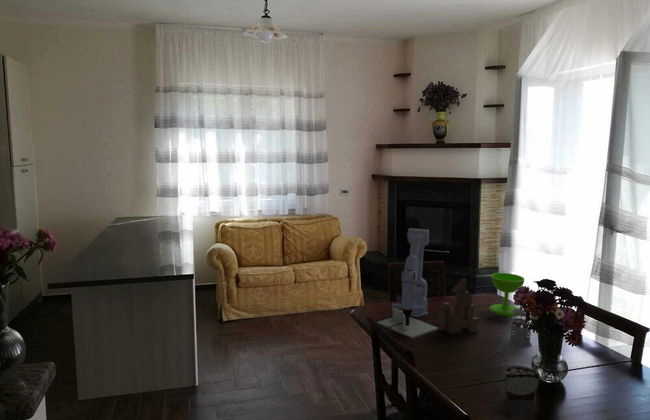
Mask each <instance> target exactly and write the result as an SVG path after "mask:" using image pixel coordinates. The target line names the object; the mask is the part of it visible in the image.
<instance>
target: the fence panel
mask: <svg viewBox="0 0 650 420" xmlns="http://www.w3.org/2000/svg"><path fill="white" fill-rule="evenodd" d="M405 327H406V317H405V315H404V313H403V330H405Z"/></svg>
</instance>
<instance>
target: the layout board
mask: <svg viewBox="0 0 650 420" xmlns="http://www.w3.org/2000/svg"><path fill="white" fill-rule="evenodd" d="M376 324H377V325H380V326H382V327H384V328H386V329H389V330H391V331H392V332H393V331H394V332H396V333H398V334H399V335H403V336H404V337H407V338H409V339H411V340H413V339H415V338H418V337H422V336H424V335H427V334H430V333H432V332H436V331H438V330H439V327H437V326H434V325H432V324H429V323H426V322H425V321H421V320H420V319H416V318H415V317H413V316H410V317H409V326H406V327H405V330H403V322H400V321H398V320H395V319H393V318H392V317H388V318H385V319H382V320H379V321H377V322H376Z"/></svg>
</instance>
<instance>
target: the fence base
mask: <svg viewBox="0 0 650 420" xmlns="http://www.w3.org/2000/svg"><path fill="white" fill-rule="evenodd" d="M403 311H404V310H402V309H397V308H394V309H392V317H391V318H393V319H395V320H398V321H400V322H403Z"/></svg>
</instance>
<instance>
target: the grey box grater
mask: <svg viewBox="0 0 650 420" xmlns="http://www.w3.org/2000/svg"><path fill="white" fill-rule="evenodd" d="M516 308H517V309H514V310H513V311H512V312H513V313H514V314H515V315H518V316H517V317H520V318H513V319H512V322H511V325H510V326H511V327H510V338H509V339H508V340H507V342H508V343H509V344H510V345H512V346H513V347H514V346H515V347H517V348H525V349H526V348H531V347H532V346H533V344H531V343H532V342H531V333H532V331H531V330H532V329H531V330H528V331H527V328H529V327H528V325H530V324H531V322H530V321H529V322H528V323H527V324H525V320H526V318H527V317H526V313H525V311H524V310H520V308H521V307H520V308H519V307H516ZM523 317H524V319H523ZM529 323H530V324H529ZM521 326H522V327H521Z"/></svg>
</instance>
